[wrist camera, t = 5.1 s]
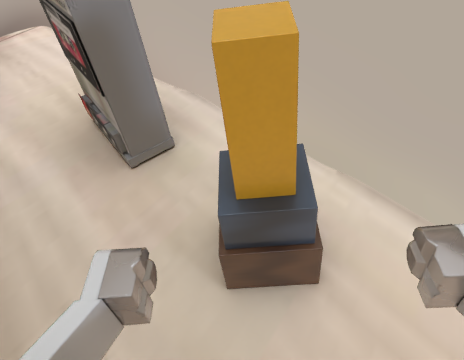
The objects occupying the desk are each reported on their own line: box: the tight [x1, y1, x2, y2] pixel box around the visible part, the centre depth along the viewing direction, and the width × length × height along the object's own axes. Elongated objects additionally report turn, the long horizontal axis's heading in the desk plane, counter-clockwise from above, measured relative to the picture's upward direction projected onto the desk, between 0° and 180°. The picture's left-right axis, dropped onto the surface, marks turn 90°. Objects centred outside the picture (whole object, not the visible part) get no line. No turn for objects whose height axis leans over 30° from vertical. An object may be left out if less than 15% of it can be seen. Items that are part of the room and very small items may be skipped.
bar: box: [212, 1, 299, 200], centre depth 21 cm, size 4×4×11 cm
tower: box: [218, 144, 323, 289], centre depth 29 cm, size 8×8×9 cm
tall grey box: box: [39, 0, 175, 168], centre depth 38 cm, size 14×6×25 cm, turn 36°
